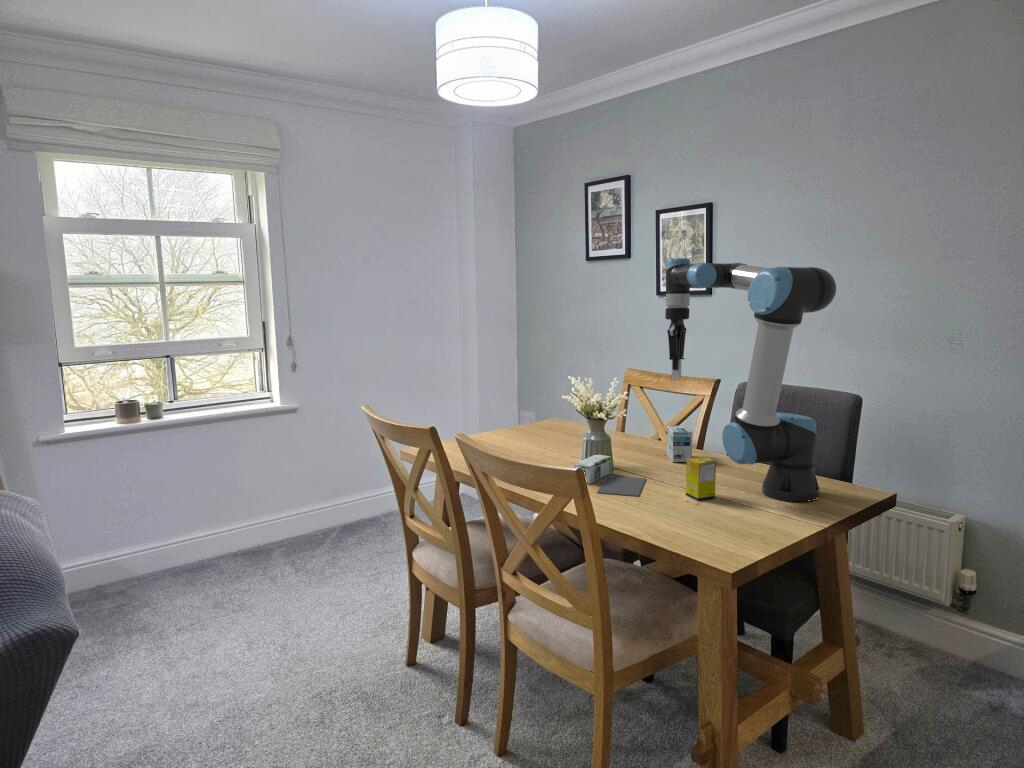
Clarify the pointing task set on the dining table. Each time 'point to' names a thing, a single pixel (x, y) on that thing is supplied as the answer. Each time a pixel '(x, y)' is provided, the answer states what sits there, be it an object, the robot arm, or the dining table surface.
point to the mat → (622, 486)
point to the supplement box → (700, 478)
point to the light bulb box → (679, 443)
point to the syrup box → (595, 467)
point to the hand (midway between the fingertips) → (676, 379)
